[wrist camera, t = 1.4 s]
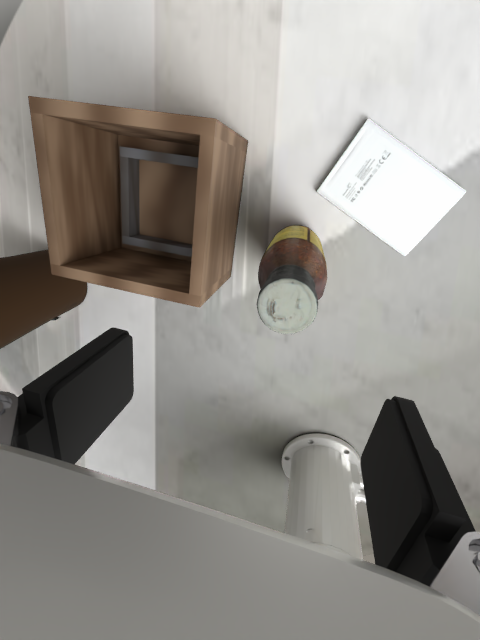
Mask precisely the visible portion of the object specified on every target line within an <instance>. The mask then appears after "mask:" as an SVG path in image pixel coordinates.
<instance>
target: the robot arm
mask: <svg viewBox="0 0 480 640" xmlns="http://www.w3.org/2000/svg"><path fill="white" fill-rule="evenodd" d="M22 391H23V394H21V395H20V396H19V397H17V396H16V395H15V394H12V393H10V392H2V391H0V640H480V533H479V532H476V531H475V529H474V527H473V525H472V522H471V520H470V518H469V516H468V514H467V512H466V509H465V507H464V505H463V503H462V501H461V498H460V496H459V494H458V492H457V490H456V487H455V485H454V483H453V481H452V479H451V477H450V474H449V472H448V470H447V468H446V466H445V463H444V461H443V459H442V457H441V455H440V453H439V451H438V450H437V449H436V448H435V447H434V445H433V443H432V441H431V438H430V436H429V434H428V432H427V429H426V427H425V425H424V423H423V420H422V418H421V416H420V414H419V411H418V409H417V407H416V405H415V403H414V401H412V400H408V399H404V398H400V397H396V396H394V397H393V398H392V399H391V400H390V399H386V401H385V402H384V405H383V407H382V409H381V412H380V414H379V416H378V419H377V421H376V423H375V426H374V428H373V430H372V433H371V435H370V437H369V439H368V442H367V444H366V446H365V449H364V451H363V453H362V456H361V459H360V457H359V455H358V453H357V452H356V451H355V449H354V448H353V447H351V446H350V445H349V444H348V443H346V442H345V441H343V440H341V439H339V438H337V437H334V436H331V435H327V434H319V433H318V434H306V435H302V436H299V437H297V438H295V439H293V440H292V441H291V442H289V443H288V444H287V446H286V447H285V449H284V451H283V454H282V468H283V471H284V473H285V475H286V476H287V478H288V479H289V490H288V500H287V510H286V520H285V530H284V533H282V532H279V531H276V530H273V529H270V528H267V527H264V526H261V525H258V524H255V523H252V522H249V521H246V520H243V519H240V518H237V517H234V516H231V515H228V514H225V513H222V512H219V511H216V510H213V509H210V508H207V507H204V506H201V505H198V504H195V503H192V502H189V501H186V500H182V499H179V498H176V497H173V496H170V495H167V494H164V493H161V492H158V491H155V490H152V489H149V488H146V487H143V486H140V485H136V484H133V483H130V482H127V481H124V480H121V479H118V478H115V477H112V476H108V475H105V474H102V473H99V472H96V471H93V470H90V469H87V468H83V467H80V466H77V465H74V464H75V463H76V462H77V461H78V460H79V459H80V458H81V456H82V455H83V454H84V453H85V452H86V451H87V450H88V448H89V447H90V446H91V445H92V444H93V443H94V442H95V440H96V439H97V438H98V437H99V436H100V435H101V434H102V432H103V431H104V430H105V429H106V428H107V427H108V426H109V424H110V423H111V422H112V421H113V420H114V419H115V418H116V416H117V415H118V414H119V413H120V412H121V411H122V410H123V409H124V407H125V406H126V405H127V404H128V403H129V402H130V400H131V399H132V396H133V392H134V387H133V341H132V336H130V335H129V333H128V331H125V330H121V329H117V328H110V329H109V330H107V331H106V332H104V333H103V334H101V335H100V336H99V337H97V338H96V339H94V340H93V341H91V342H90V343H88V344H87V345H85V346H84V347H82V348H81V349H80V350H78V351H77V352H75V353H74V354H72V355H71V356H69V357H68V358H66V359H65V360H63V361H62V362H60V363H59V364H58V365H56V366H55V367H53V368H52V369H50V370H49V371H47V372H46V373H44V374H43V375H41V376H40V377H38V378H37V379H36V380H34V381H33V382H31V383H30V384H28V385H27V386H25V387H24V388H22ZM361 488H364V490H362V489H361ZM359 502H364V503H366V505H367V512H368V518H369V525H370V531H371V538H372V544H373V551H374V557H375V564H376V565H375V564H372V563H370V562H367V561H363V556H362V548H361V540H360V532H359V523H358V515H357V507H356V503H359Z"/></svg>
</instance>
